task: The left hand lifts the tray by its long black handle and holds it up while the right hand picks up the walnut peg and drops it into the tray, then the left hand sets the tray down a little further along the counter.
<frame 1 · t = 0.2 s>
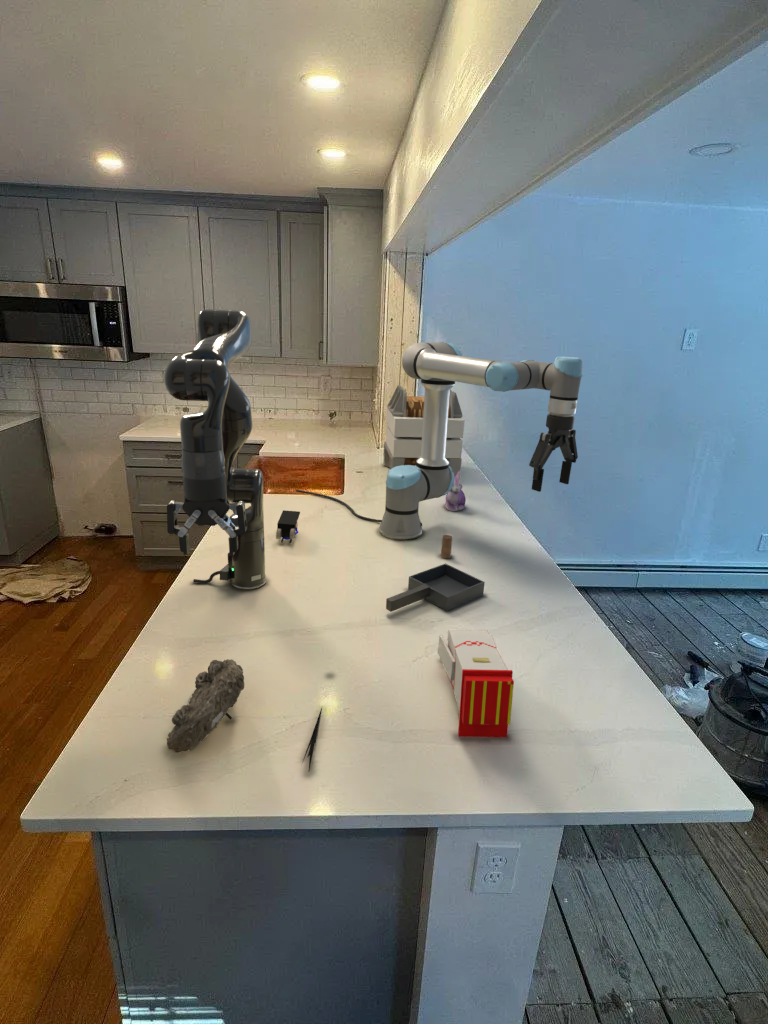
left hand: (209, 553, 109), 29 cm above the counter, fingers open, 8 cm apart
right hand: (550, 486, 166), 28 cm above the counter, fingers open, 13 cm apart
figurine character: (288, 537, 192), on the counter
white slatted crate: (419, 473, 275), on the counter
figurine: (454, 508, 229), on the counter
toy: (469, 691, 119), on the counter
tray: (445, 592, 160), on the counter
feather: (319, 719, 109), on the counter
peg: (445, 556, 183), on the counter
fossil: (212, 717, 108), on the counter
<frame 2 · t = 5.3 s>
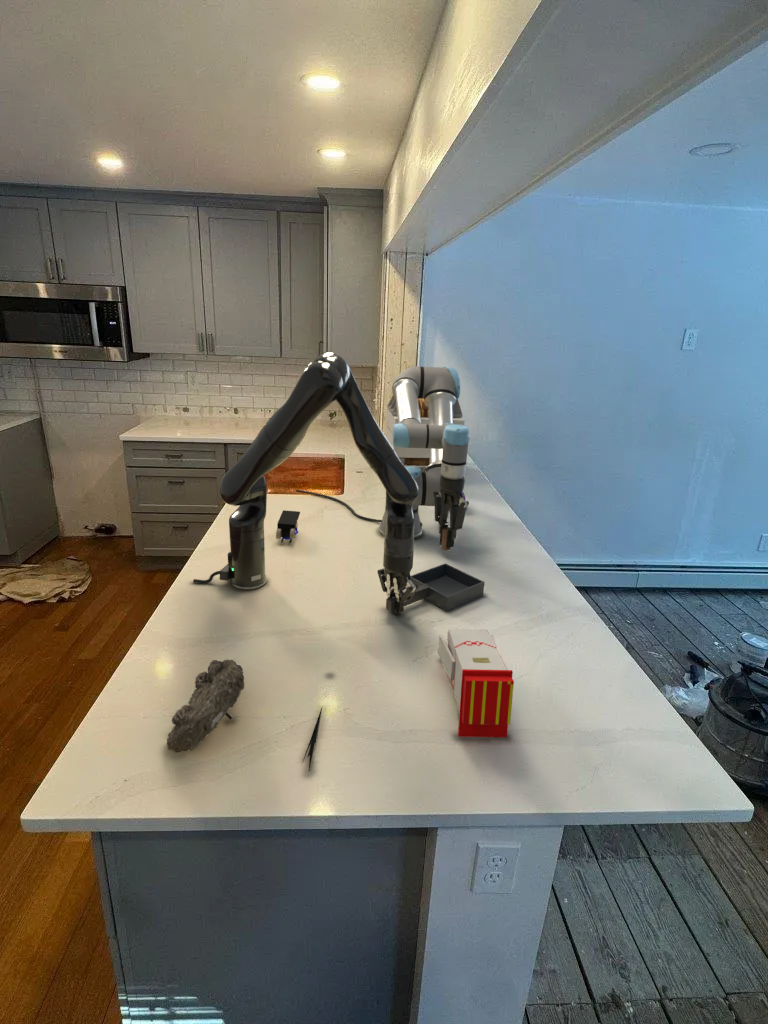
left hand: (395, 610, 148), 1 cm above the counter, fingers closed on tray, 2 cm apart
right hand: (446, 545, 183), 4 cm above the counter, fingers closed on peg, 2 cm apart
tray: (445, 592, 160), on the counter, touching left hand
peg: (445, 548, 183), point 3 cm above the counter, touching right hand
everything else where it was.
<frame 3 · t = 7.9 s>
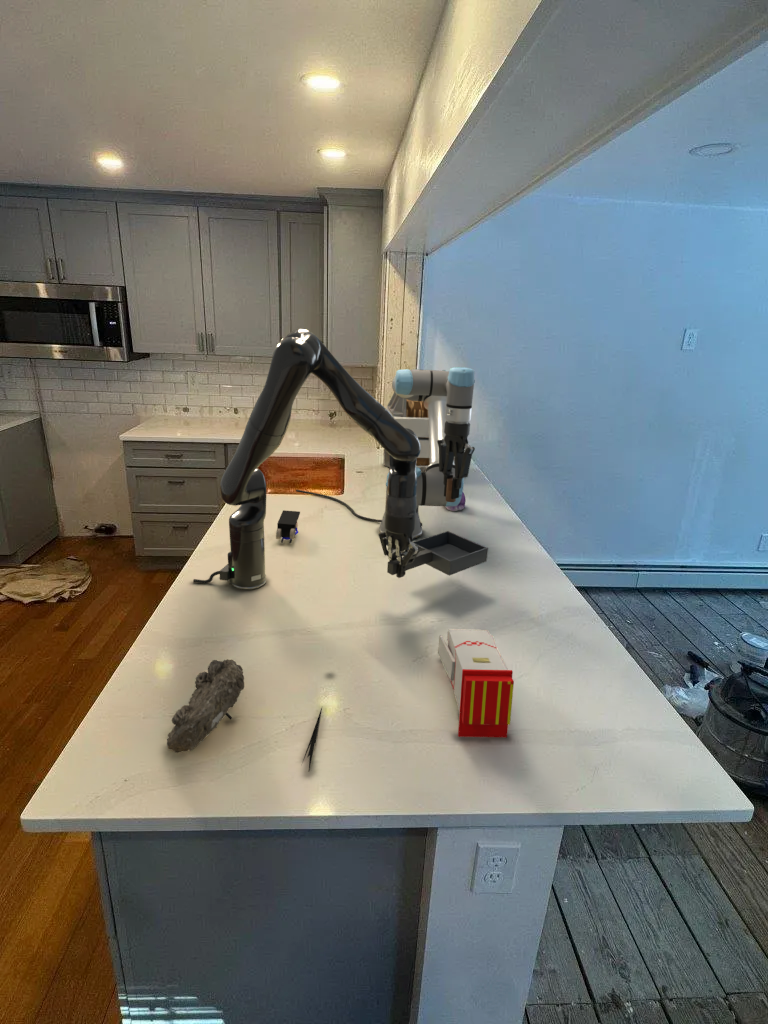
left hand: (397, 574, 144), 11 cm above the counter, fingers closed on tray, 2 cm apart
right hand: (451, 496, 176), 21 cm above the counter, fingers closed on peg, 2 cm apart
tray: (447, 558, 157), point 10 cm above the counter, touching left hand
peg: (450, 500, 176), point 19 cm above the counter, touching right hand
everything else where it was.
when the right hand's fingers open (17 cm above the counter, at t = 10.5 s): peg drops 5 cm, resting on tray.
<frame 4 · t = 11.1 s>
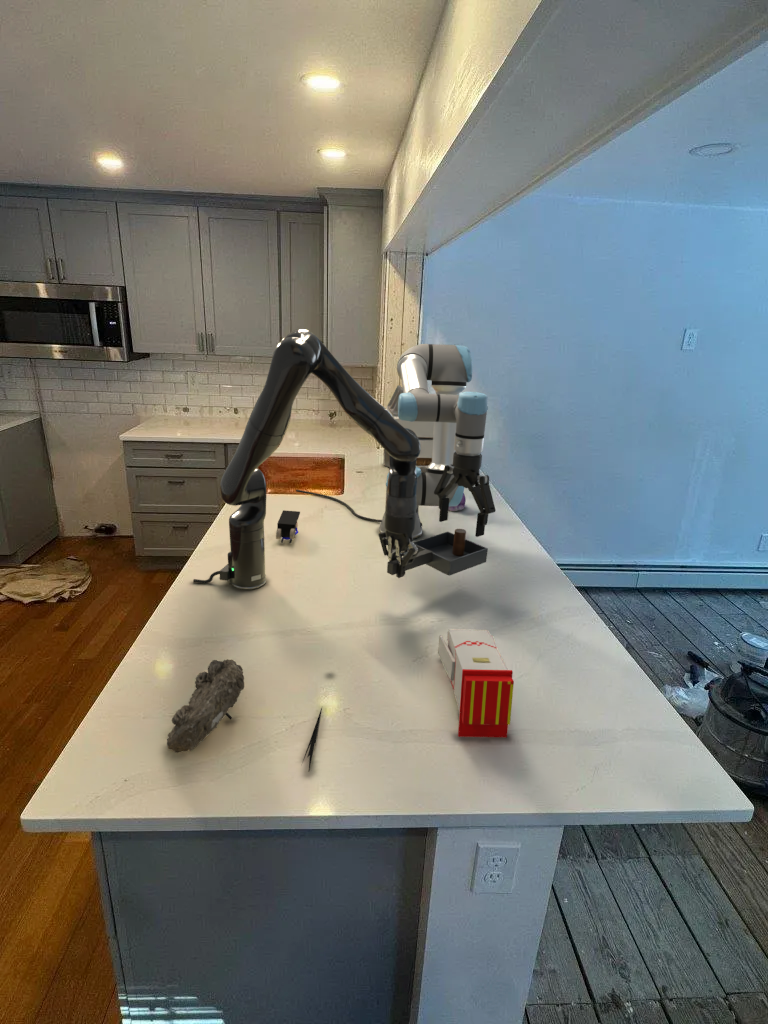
left hand: (396, 574, 144), 11 cm above the counter, fingers closed on tray, 2 cm apart
right hand: (460, 528, 156), 19 cm above the counter, fingers open, 13 cm apart
tray: (447, 559, 157), point 10 cm above the counter, touching left hand, peg
peg: (458, 553, 159), point 11 cm above the counter, touching tray
everything else where it was.
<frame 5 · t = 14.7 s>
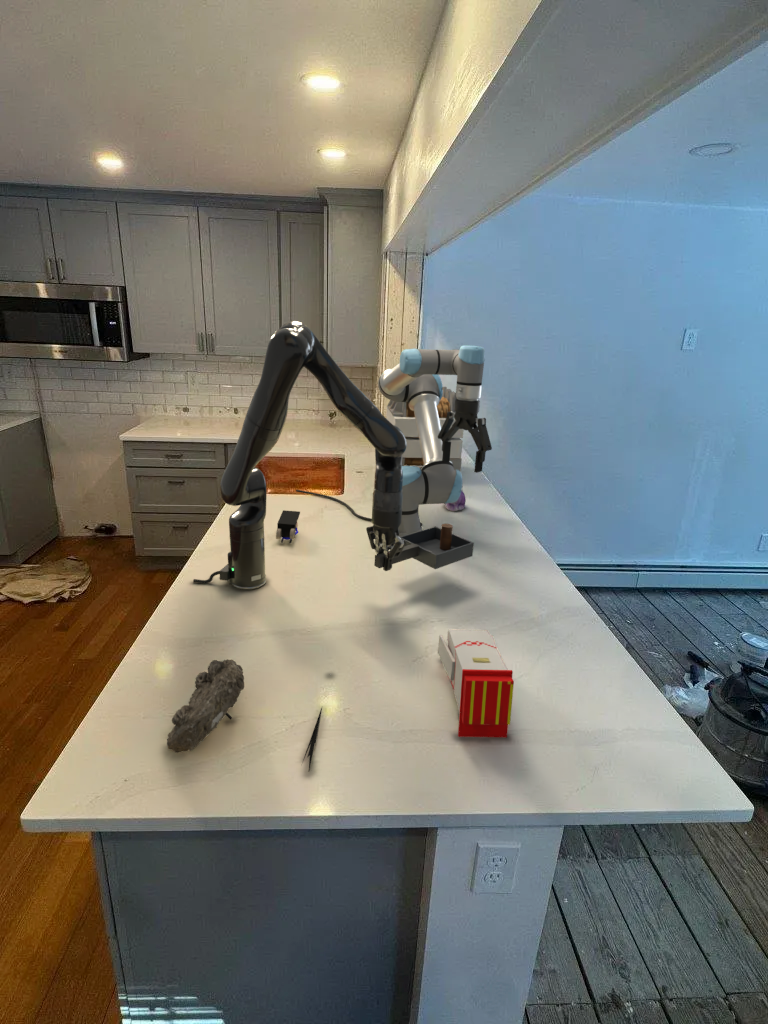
left hand: (384, 568, 148), 11 cm above the counter, fingers closed on tray, 2 cm apart
right hand: (461, 466, 179), 29 cm above the counter, fingers open, 13 cm apart
tray: (434, 553, 160), point 10 cm above the counter, touching left hand, peg
peg: (445, 548, 162), point 11 cm above the counter, touching tray
everything else where it was.
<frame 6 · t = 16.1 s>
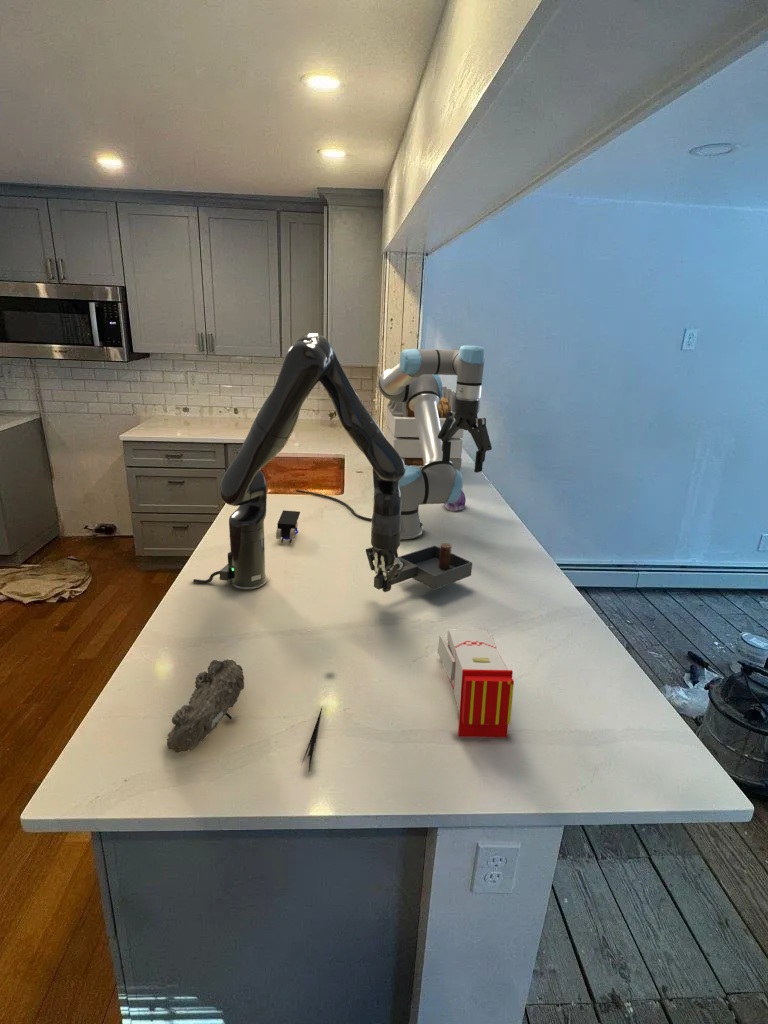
left hand: (383, 589, 150), 5 cm above the counter, fingers closed on tray, 2 cm apart
right hand: (461, 466, 179), 29 cm above the counter, fingers open, 13 cm apart
tray: (433, 572, 162), point 4 cm above the counter, touching left hand, peg
peg: (444, 567, 164), point 5 cm above the counter, touching tray
everything else where it was.
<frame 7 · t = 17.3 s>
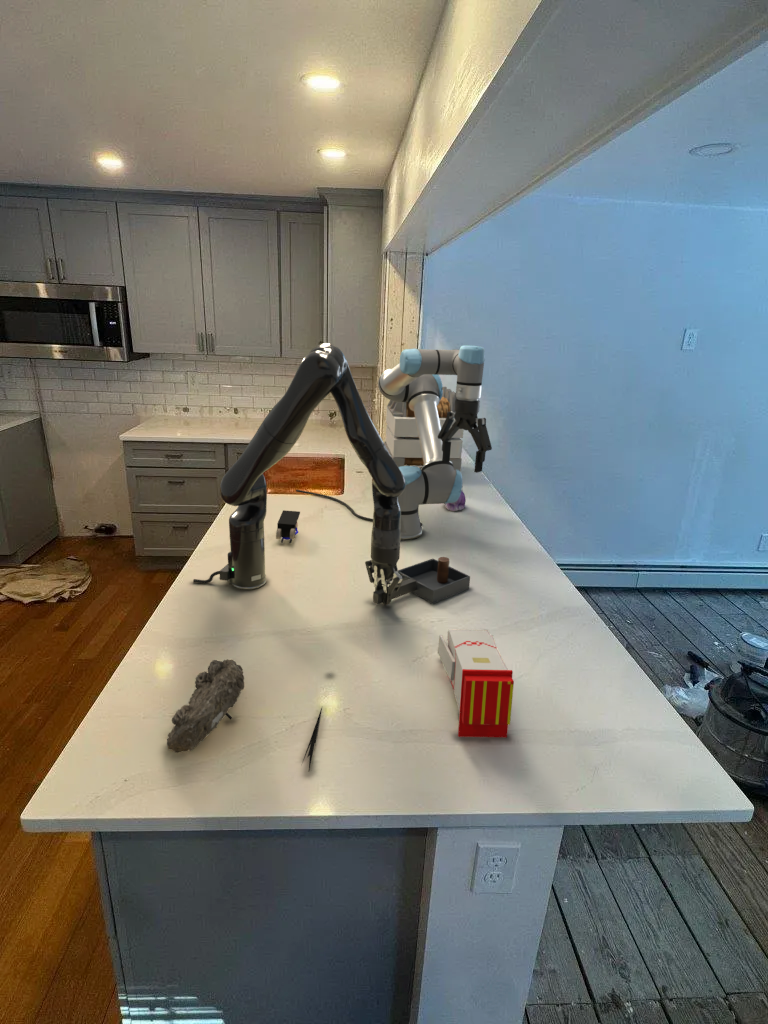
left hand: (382, 601, 151), 1 cm above the counter, fingers closed
right hand: (461, 466, 179), 29 cm above the counter, fingers open, 13 cm apart
tray: (432, 586, 164), on the counter, touching peg
peg: (442, 580, 166), resting on tray
everything else where it was.
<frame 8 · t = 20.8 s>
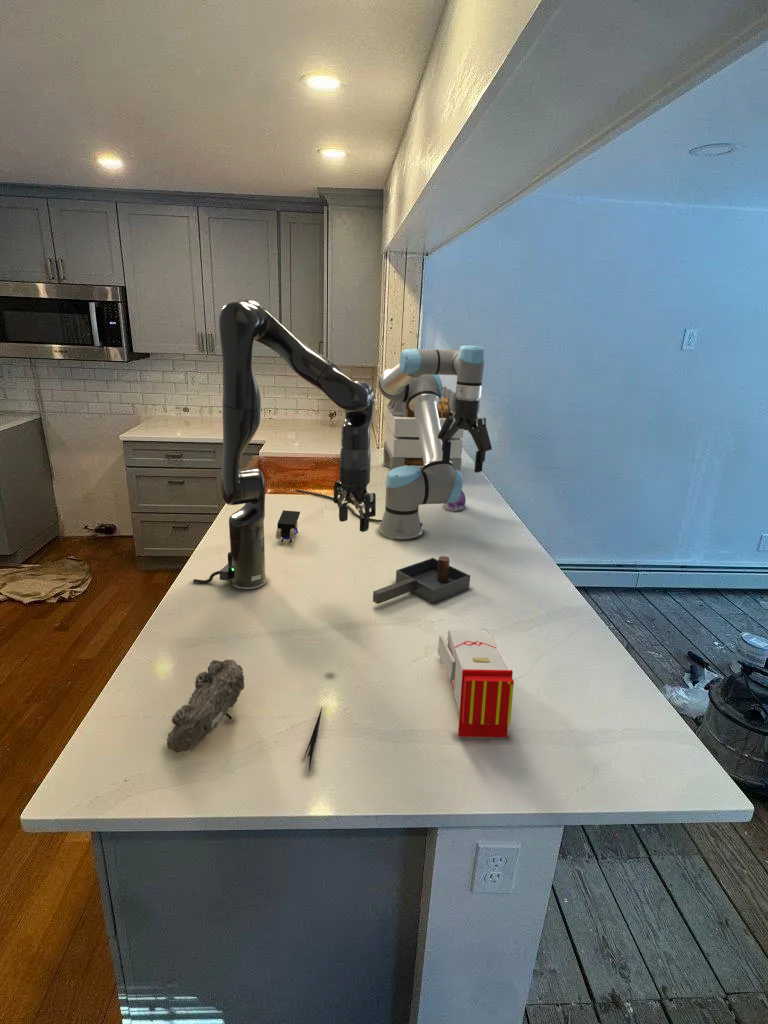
left hand: (353, 525, 145), 22 cm above the counter, fingers open, 8 cm apart
right hand: (461, 466, 179), 29 cm above the counter, fingers open, 13 cm apart
nothing on the counter moved.
at the end: peg inside the target area on the tray (4.0 cm from its centre), point 0.6 cm above the tray's base; tray inside the target area (0.2 cm from its centre), on the counter; the left hand is holding nothing; the right hand is holding nothing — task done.
